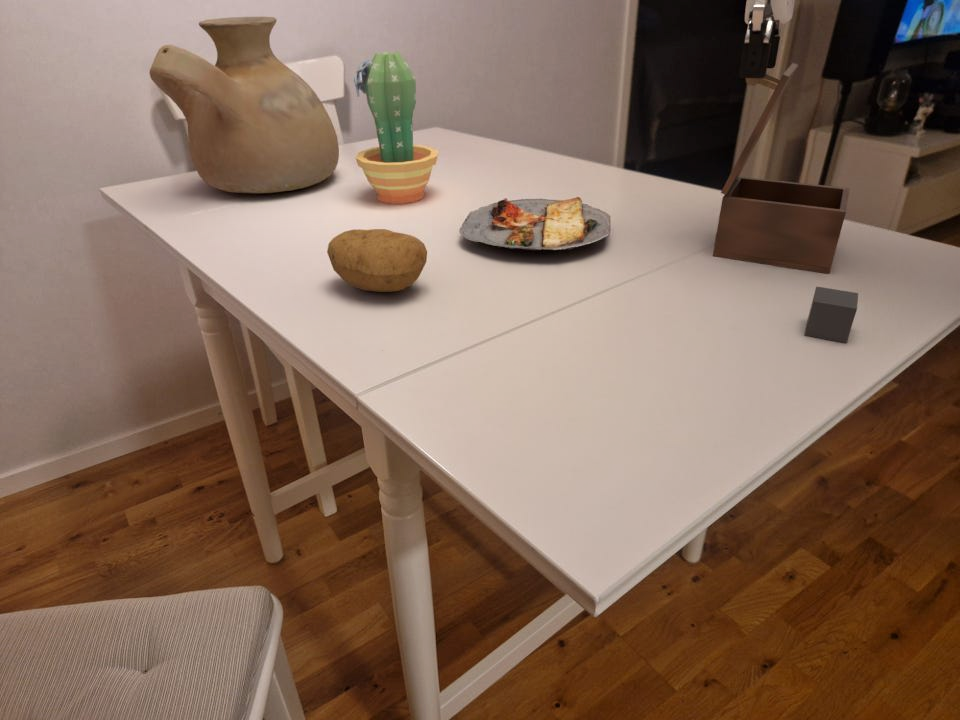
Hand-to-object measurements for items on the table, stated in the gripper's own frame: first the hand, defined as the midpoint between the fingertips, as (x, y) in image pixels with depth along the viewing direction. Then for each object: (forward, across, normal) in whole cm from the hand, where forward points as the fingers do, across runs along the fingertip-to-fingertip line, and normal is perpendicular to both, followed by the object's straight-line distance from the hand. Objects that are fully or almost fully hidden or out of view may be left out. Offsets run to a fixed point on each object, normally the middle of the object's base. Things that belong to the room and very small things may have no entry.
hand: (757, 72), depth 88 cm
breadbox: (+24, 0, -6) cm, 25 cm away
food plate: (+24, -8, +29) cm, 38 cm away
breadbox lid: (+7, 0, -2) cm, 8 cm away
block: (+25, -24, -15) cm, 37 cm away
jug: (+23, -5, +91) cm, 94 cm away
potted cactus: (+23, 0, +60) cm, 65 cm away
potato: (+24, -36, +40) cm, 59 cm away
